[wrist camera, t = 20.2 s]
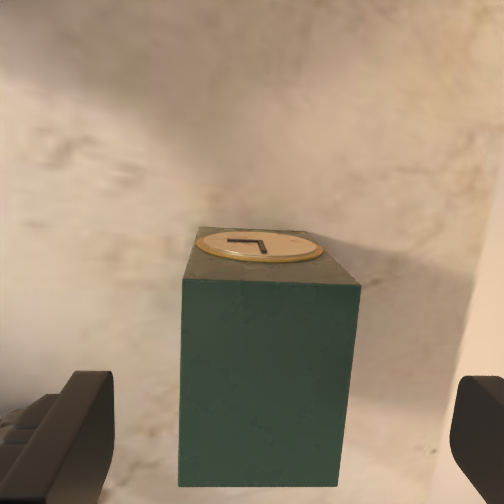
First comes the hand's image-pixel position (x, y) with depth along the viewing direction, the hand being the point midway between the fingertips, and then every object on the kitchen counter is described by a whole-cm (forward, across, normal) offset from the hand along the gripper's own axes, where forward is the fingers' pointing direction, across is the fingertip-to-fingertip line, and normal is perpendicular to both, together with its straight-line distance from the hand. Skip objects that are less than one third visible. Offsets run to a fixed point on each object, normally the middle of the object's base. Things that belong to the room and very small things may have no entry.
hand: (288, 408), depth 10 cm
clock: (+10, 0, +6) cm, 12 cm away
